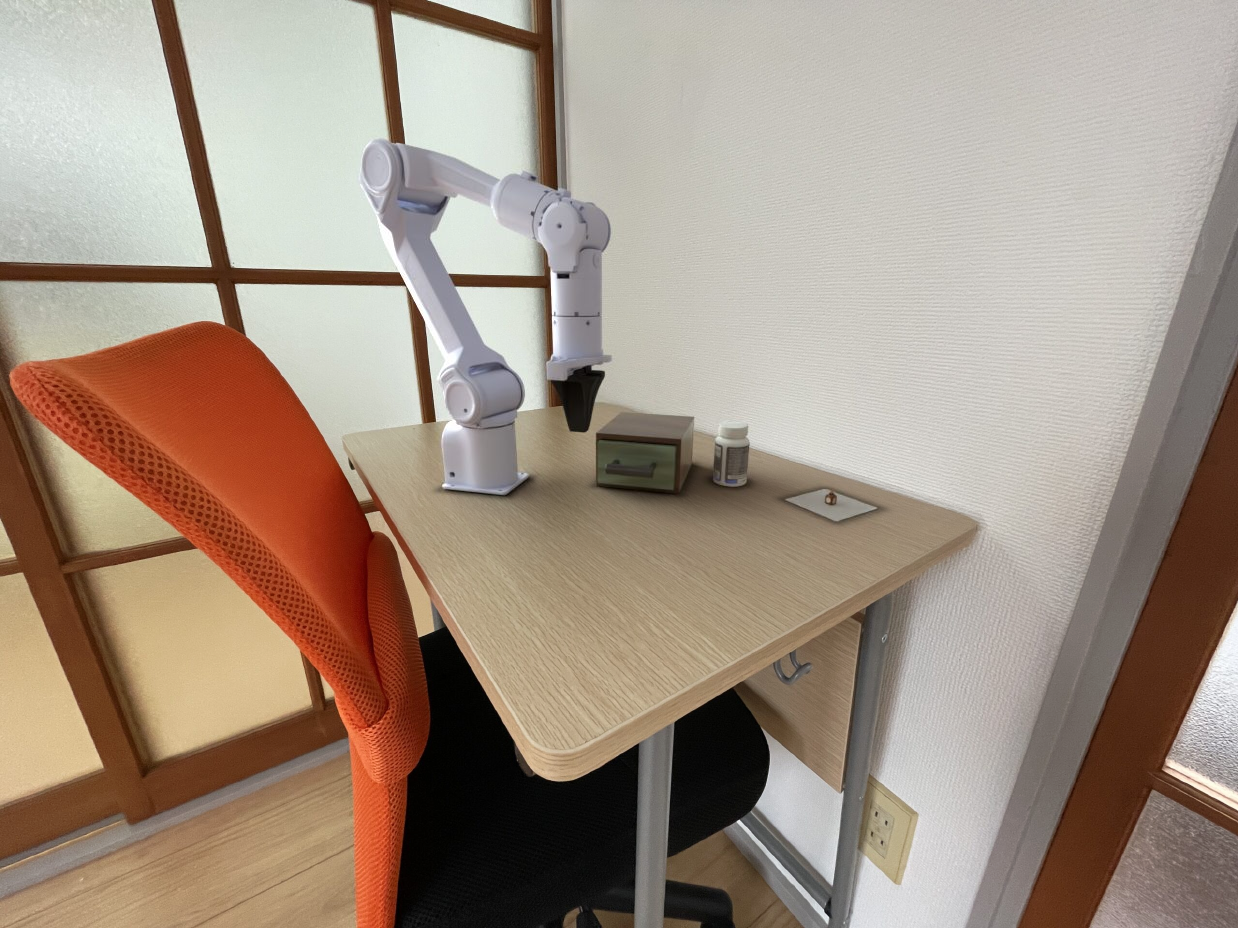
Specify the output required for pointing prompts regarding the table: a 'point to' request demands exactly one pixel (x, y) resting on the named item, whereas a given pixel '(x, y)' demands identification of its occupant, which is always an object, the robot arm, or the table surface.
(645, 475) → the drawer
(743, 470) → the pill bottle
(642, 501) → the table surface
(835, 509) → the grey square plate
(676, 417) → the cabinet
